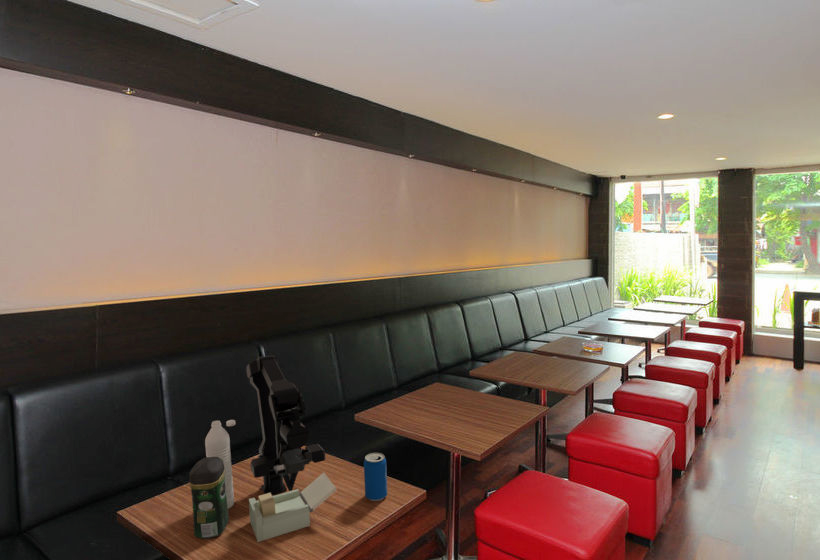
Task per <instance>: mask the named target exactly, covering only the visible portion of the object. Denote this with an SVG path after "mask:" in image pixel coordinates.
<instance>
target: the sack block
mask: <svg viewBox="0 0 820 560" xmlns="http://www.w3.org/2000/svg"><path fill="white" fill-rule="evenodd" d="M272 496H273V495H271V493H267V494H264V493H263V494H261V495H258V500H259V509H260V512H261V514H262V518H263V517H266V516H269V515H273V514H276V512H275V501H274V499H273V497H272Z"/></svg>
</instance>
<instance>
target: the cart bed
mask: <svg viewBox="0 0 820 560" xmlns="http://www.w3.org/2000/svg"><path fill="white" fill-rule="evenodd" d="M299 494H300V489H299V488H296V489H292V491H289V490H288V491H285V492H281V493H278V494H276V495H275V494H274V495H272V497H273V499H274V501H275V512H276V514H273V515H269V516H266V517H263V518H262V514H261V512H260V509H259V499H258V500H256V498H255V497H252V498H248V505H249V506H248V508H249V522H250V526H251V527H252V530H253V533H254V536H255V538H256V541H257V543H260V542H263V541H265V540H269V539H272V538H276V537H278V536H279V537H280V536H282V535H285V534H288V533H291V532H294V531H297V530H301V529H304V528H306V527H310V526H311V519H310V511H309V506H308V504H307V505H305V503H304V501H303V500H302V498H301V496H300V495H299Z"/></svg>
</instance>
